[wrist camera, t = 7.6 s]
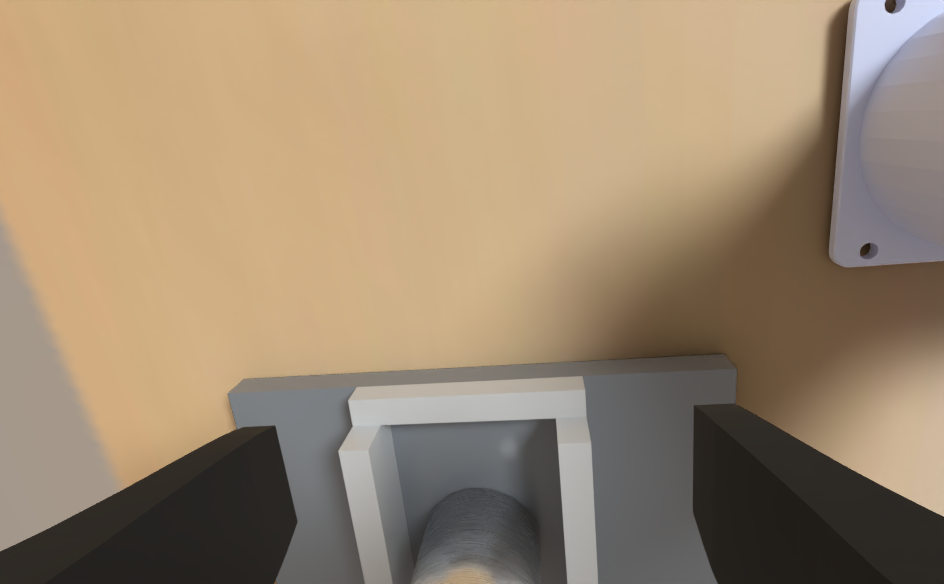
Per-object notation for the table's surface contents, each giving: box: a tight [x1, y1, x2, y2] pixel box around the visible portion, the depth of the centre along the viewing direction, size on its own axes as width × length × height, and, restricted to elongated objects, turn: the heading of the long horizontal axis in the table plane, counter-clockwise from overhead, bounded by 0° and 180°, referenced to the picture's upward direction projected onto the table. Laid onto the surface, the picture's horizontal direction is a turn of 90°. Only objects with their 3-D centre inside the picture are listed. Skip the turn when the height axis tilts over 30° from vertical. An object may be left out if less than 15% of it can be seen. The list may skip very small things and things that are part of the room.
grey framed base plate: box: [228, 354, 737, 584], centre depth 21 cm, size 18×14×4 cm
